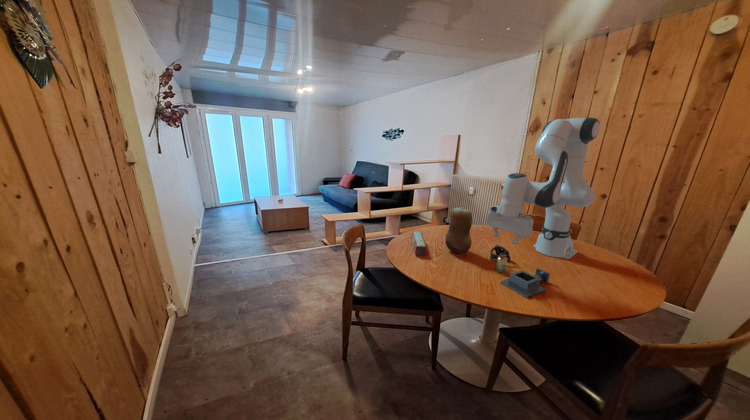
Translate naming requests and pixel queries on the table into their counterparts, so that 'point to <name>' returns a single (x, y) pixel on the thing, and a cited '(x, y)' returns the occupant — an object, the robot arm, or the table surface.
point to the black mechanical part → (499, 252)
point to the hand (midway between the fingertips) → (505, 240)
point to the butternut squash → (459, 231)
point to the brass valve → (501, 264)
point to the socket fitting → (527, 282)
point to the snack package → (419, 244)
